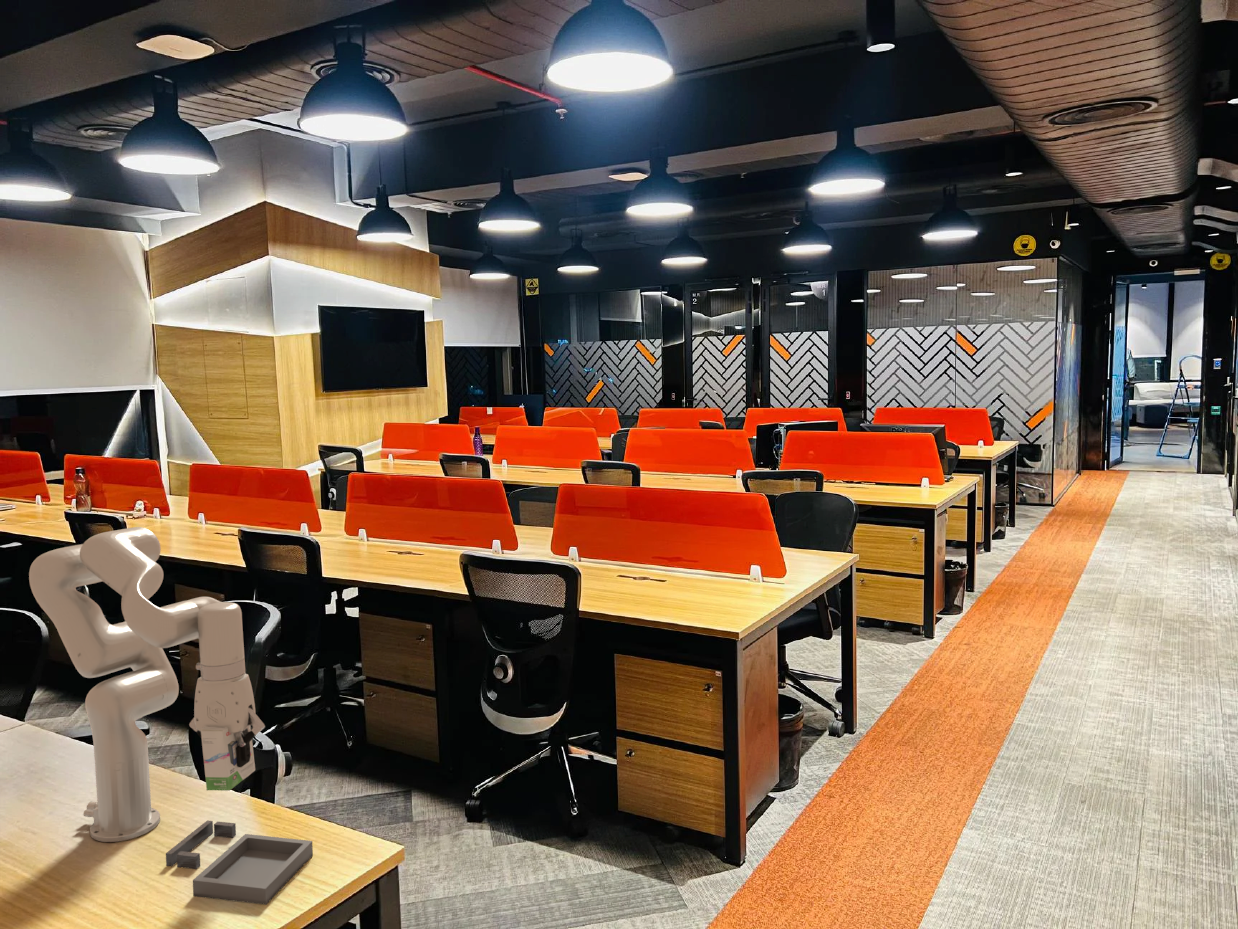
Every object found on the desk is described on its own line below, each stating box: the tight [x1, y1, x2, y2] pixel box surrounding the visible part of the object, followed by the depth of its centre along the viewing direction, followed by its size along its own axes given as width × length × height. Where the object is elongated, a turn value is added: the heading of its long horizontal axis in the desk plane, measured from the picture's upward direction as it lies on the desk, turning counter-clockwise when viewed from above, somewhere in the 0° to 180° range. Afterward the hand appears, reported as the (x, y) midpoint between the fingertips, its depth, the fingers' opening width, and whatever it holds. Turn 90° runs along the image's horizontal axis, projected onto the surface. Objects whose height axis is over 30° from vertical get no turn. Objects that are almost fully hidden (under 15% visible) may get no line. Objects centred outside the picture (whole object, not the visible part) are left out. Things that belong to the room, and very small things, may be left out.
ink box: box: [200, 725, 256, 792], centre depth 168 cm, size 9×5×12 cm, turn 170°
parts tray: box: [192, 833, 314, 906], centre depth 167 cm, size 14×16×3 cm
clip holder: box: [165, 820, 237, 870], centre depth 175 cm, size 6×13×2 cm, turn 170°
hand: (229, 762), depth 169 cm, fingers closed on ink box, 5 cm apart
